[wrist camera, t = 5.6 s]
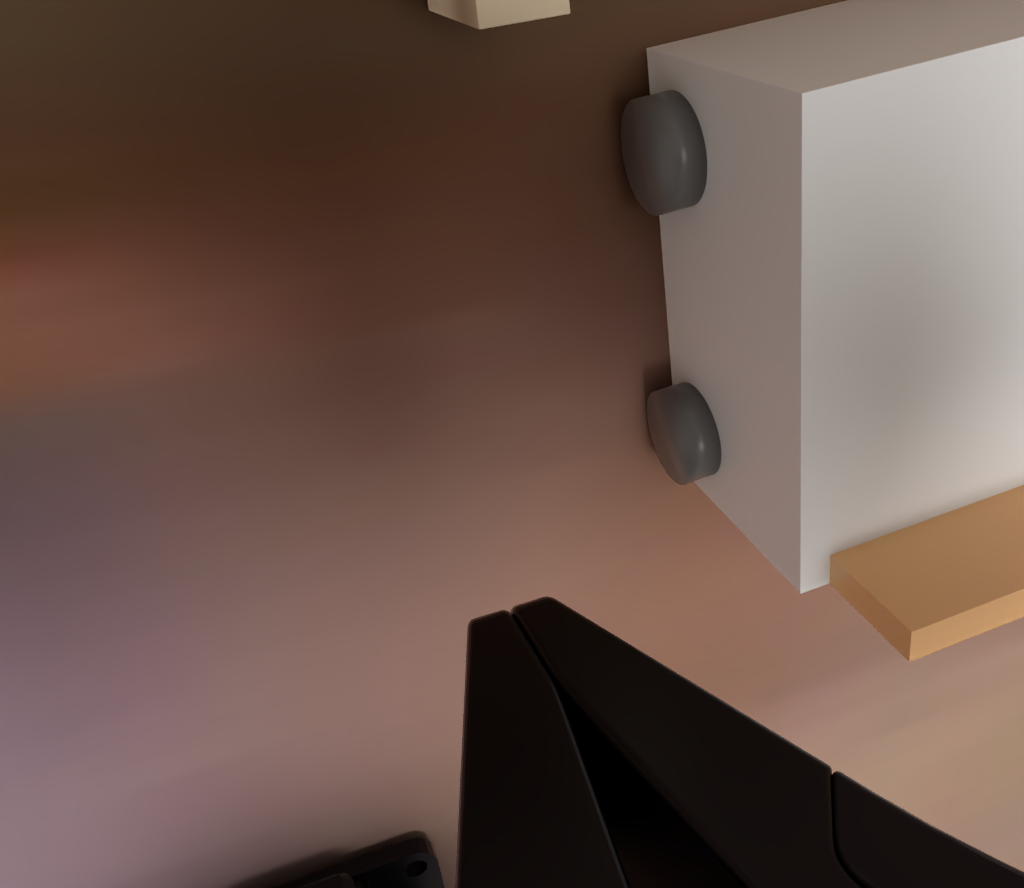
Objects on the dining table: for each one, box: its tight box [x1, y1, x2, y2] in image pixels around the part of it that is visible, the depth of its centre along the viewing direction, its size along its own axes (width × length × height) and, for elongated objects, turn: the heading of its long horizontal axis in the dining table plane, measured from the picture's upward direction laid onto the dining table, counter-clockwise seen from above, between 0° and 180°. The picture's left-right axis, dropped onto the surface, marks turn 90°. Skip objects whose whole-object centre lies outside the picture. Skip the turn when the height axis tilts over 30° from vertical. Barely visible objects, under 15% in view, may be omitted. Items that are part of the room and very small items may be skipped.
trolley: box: [621, 0, 1024, 662], centre depth 15 cm, size 8×7×6 cm
